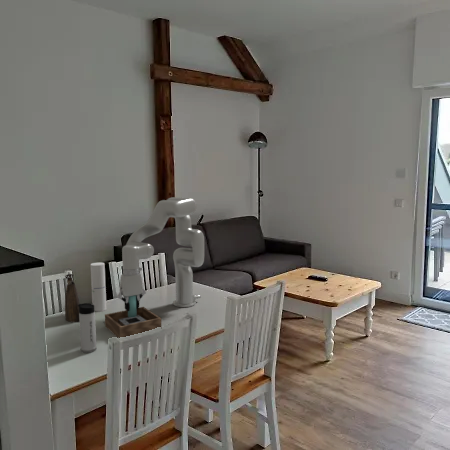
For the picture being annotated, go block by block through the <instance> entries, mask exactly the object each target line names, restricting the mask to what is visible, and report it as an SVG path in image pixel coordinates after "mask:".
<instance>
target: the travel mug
mask: <svg viewBox="0 0 450 450" xmlns="http://www.w3.org/2000/svg"><path fill="white" fill-rule="evenodd" d="M78 307H79V321H80V322H79V338H80V351H81V352H82V353H85V354H89V353H90V354H91V353H94V352H95V351H97V333H96V332H97V330H96V325H97V324H96V312H95V307H94V305H93V304H92V303H90V302H89V303H88V302H86V303H85V302H84V303H79V305H78Z"/></svg>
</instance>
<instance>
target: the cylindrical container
mask: <svg viewBox="0 0 450 450" xmlns="http://www.w3.org/2000/svg"><path fill="white" fill-rule="evenodd" d="M105 265H106V264H105V262H99V261H98V262H92V263H90V279H91V280H90V281H91V282H90V283H91V286H90V287H91V302H92V303H91V304H93V305H94V307H95V311H96V312H97V313H98V312H99V311H100V312H104V311H107V293H106V292H107V291H106V290H107V289H106V288H107V287H106V268H105ZM96 312H95V313H96Z"/></svg>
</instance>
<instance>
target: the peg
mask: <svg viewBox="0 0 450 450" xmlns="http://www.w3.org/2000/svg"><path fill="white" fill-rule="evenodd" d="M128 303H129V310H130V311H128V317H136V316H137V308H136V295H135V296H129V300H128Z"/></svg>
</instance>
